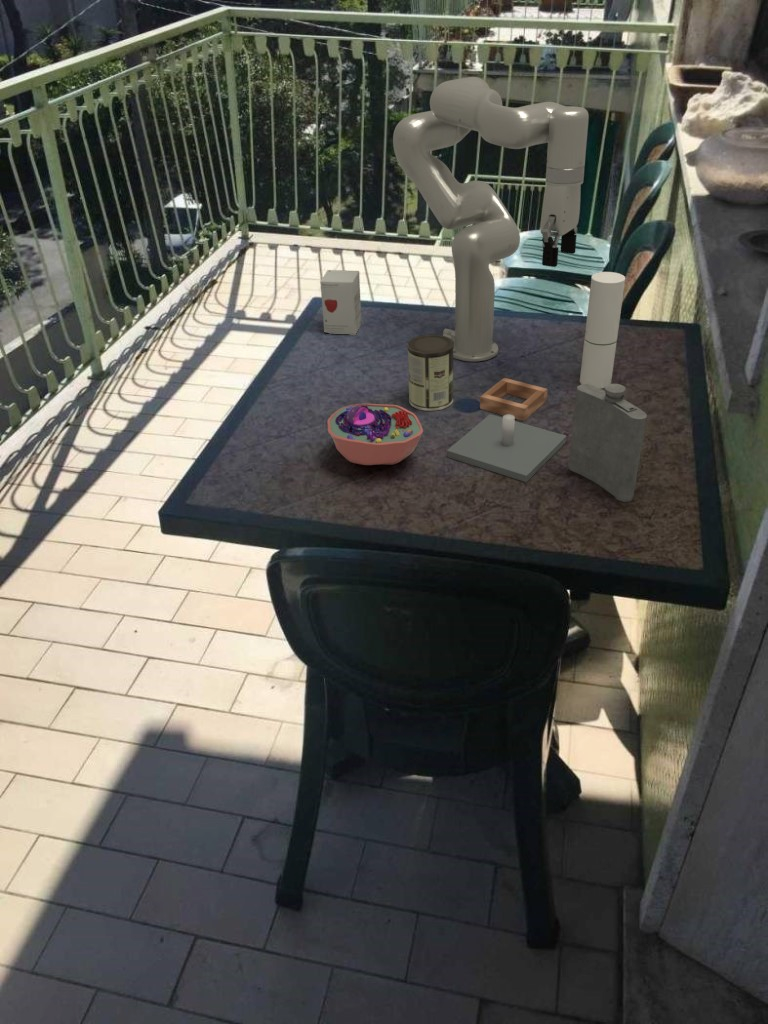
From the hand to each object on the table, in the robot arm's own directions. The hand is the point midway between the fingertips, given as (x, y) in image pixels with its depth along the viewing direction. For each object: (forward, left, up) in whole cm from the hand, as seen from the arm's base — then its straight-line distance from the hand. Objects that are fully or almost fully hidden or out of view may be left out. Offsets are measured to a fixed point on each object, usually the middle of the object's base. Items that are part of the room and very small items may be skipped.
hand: (558, 259), depth 174 cm
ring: (-2, -14, -29) cm, 32 cm away
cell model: (-15, -49, -30) cm, 59 cm away
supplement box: (-62, +1, -30) cm, 69 cm away
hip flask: (+27, -33, -30) cm, 52 cm away
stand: (+6, -32, -29) cm, 44 cm away
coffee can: (-19, -22, -30) cm, 41 cm away
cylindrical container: (+9, +6, -30) cm, 32 cm away
